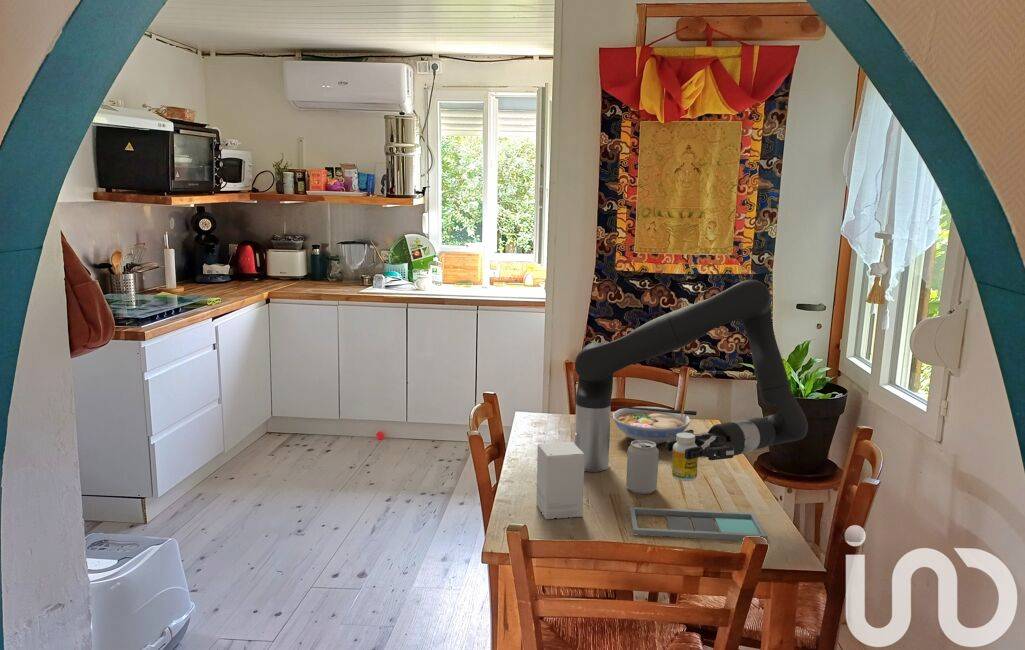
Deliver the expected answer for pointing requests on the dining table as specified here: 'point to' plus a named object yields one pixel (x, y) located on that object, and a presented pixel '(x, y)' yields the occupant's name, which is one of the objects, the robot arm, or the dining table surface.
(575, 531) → the dining table surface
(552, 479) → the supplement box
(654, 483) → the can
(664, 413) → the ramen bowl
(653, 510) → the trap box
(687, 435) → the supplement bottle
